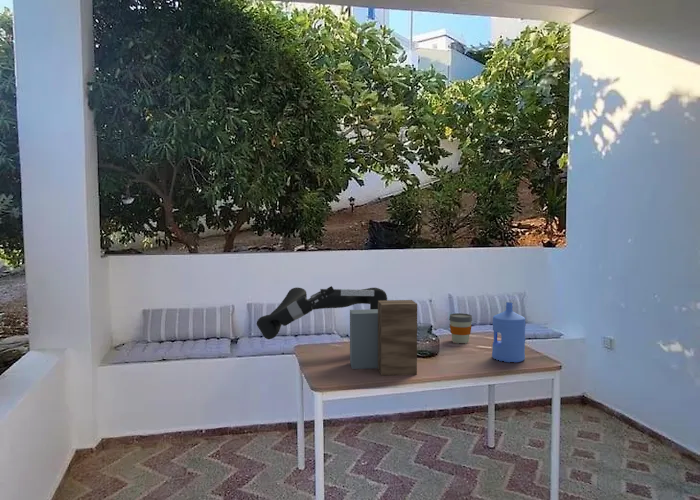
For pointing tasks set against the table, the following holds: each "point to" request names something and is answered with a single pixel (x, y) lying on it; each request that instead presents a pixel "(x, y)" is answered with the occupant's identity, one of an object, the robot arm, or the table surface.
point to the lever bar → (350, 292)
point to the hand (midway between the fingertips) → (333, 288)
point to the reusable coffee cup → (460, 327)
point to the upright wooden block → (397, 337)
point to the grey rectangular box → (364, 339)
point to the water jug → (509, 336)
